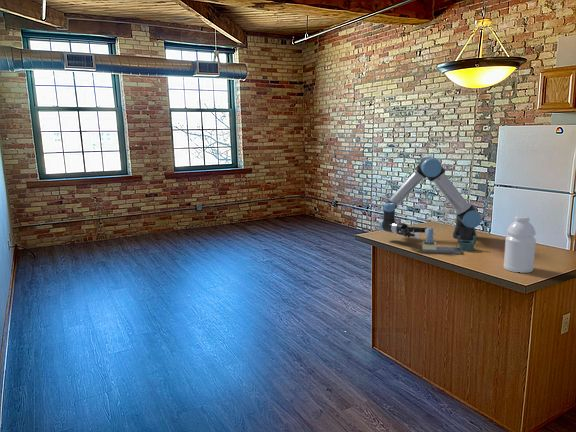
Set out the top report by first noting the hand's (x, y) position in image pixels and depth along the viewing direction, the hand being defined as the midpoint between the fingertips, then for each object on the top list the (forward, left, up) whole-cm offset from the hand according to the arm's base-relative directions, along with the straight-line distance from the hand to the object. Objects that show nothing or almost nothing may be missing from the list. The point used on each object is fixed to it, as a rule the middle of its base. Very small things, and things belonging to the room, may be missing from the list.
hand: (426, 234), depth 259 cm
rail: (-9, +1, -10) cm, 13 cm away
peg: (-2, +1, -8) cm, 8 cm away
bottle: (-46, +28, -10) cm, 55 cm away
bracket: (-24, -7, -10) cm, 27 cm away
